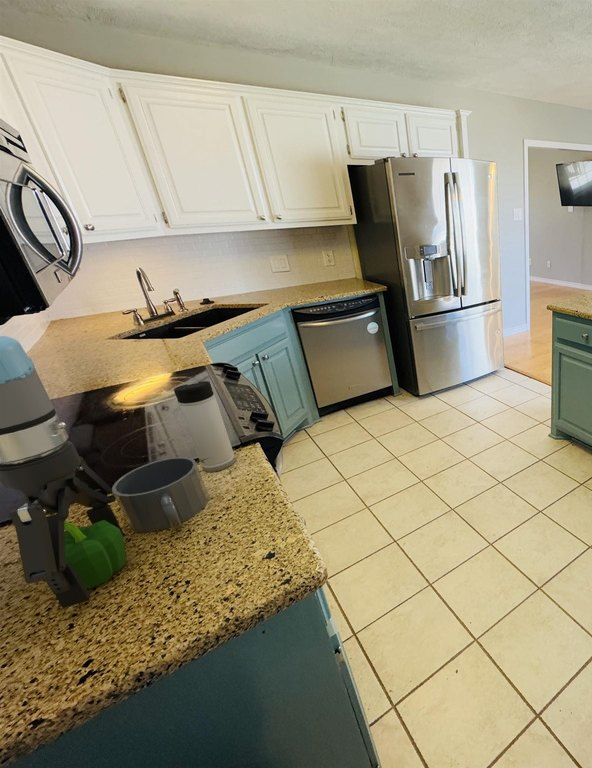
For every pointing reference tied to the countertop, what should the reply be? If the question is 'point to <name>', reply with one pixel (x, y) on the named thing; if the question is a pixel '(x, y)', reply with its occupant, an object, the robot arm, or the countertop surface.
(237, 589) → the countertop surface
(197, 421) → the travel mug
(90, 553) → the bell pepper
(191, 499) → the wide gray mug
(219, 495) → the countertop surface
